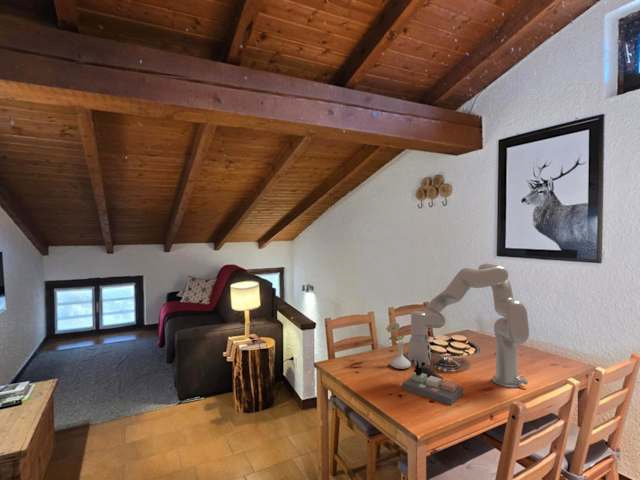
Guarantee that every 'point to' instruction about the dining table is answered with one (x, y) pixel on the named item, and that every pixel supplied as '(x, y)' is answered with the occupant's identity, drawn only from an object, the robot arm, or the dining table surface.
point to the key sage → (419, 377)
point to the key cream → (434, 381)
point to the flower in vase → (399, 359)
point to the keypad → (432, 391)
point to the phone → (430, 373)
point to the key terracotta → (450, 386)
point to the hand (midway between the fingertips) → (418, 374)
